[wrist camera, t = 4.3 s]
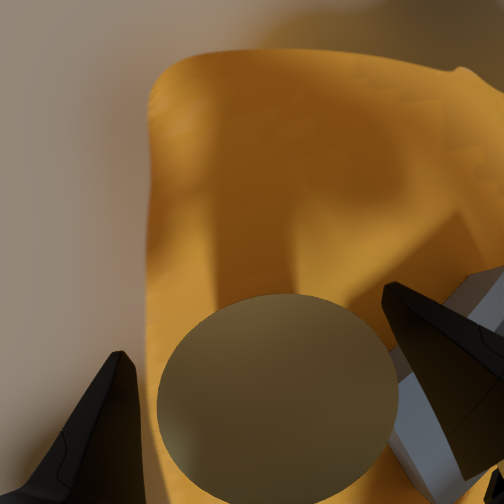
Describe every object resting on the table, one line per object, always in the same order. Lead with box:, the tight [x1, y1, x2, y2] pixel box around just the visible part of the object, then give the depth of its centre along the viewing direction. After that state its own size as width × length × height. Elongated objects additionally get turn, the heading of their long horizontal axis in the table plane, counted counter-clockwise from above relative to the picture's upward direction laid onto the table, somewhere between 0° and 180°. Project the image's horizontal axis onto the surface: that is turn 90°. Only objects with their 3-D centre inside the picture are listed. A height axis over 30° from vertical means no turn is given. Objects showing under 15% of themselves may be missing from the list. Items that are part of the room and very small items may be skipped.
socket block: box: [387, 266, 504, 504], centre depth 12 cm, size 11×11×4 cm
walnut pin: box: [157, 294, 399, 504], centre depth 10 cm, size 4×4×11 cm
